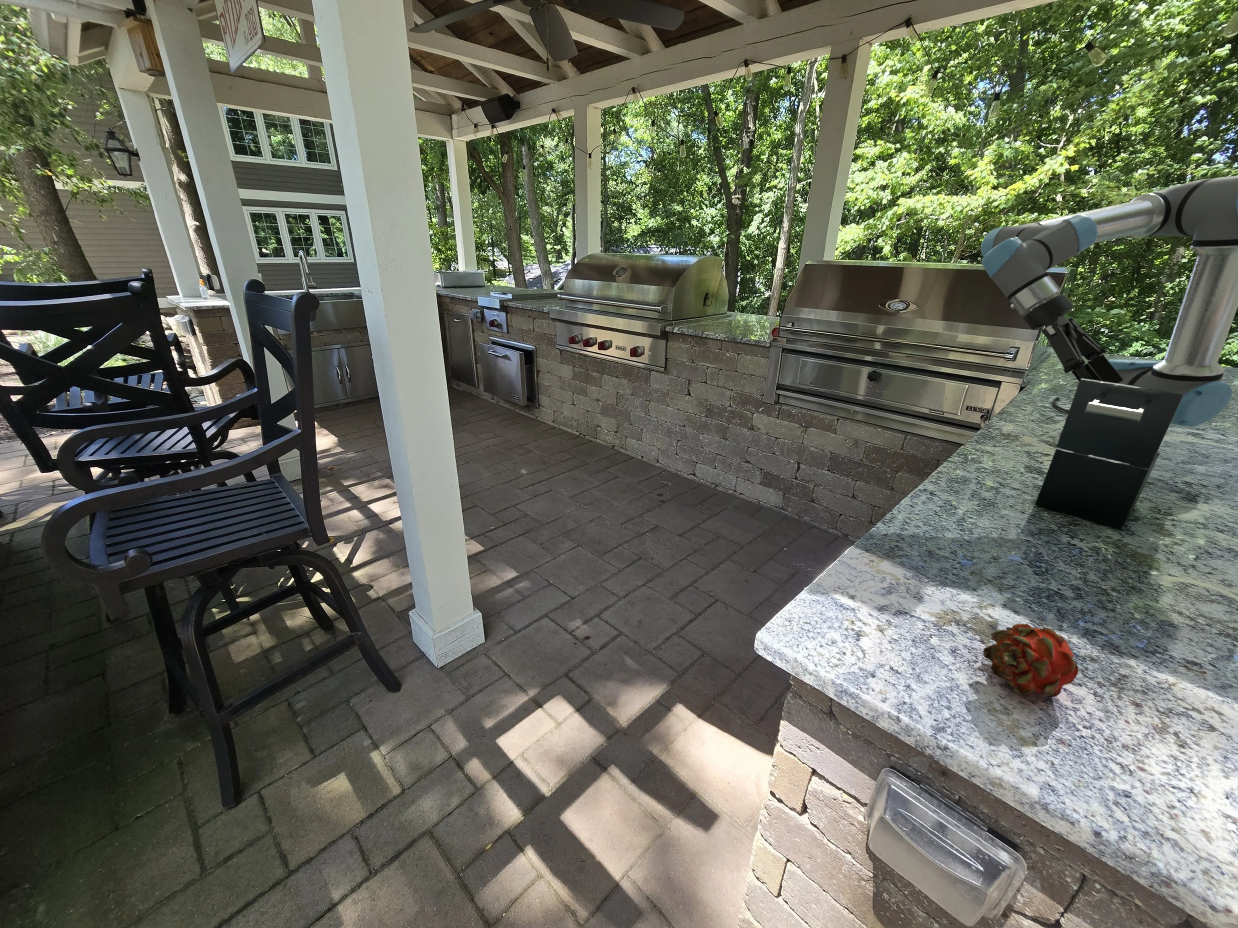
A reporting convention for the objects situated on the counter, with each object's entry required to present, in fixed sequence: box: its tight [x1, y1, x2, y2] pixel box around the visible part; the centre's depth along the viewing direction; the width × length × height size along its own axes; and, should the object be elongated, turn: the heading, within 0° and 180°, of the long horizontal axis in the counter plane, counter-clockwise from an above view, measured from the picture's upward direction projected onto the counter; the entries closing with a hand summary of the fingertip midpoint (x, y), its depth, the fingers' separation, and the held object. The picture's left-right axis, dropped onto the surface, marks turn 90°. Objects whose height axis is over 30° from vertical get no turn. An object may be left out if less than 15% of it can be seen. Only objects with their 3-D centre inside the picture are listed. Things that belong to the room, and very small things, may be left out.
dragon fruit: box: [983, 623, 1079, 698], centre depth 62 cm, size 8×8×12 cm
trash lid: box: [1056, 378, 1184, 469], centre depth 90 cm, size 14×14×9 cm
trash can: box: [1034, 447, 1160, 531], centre depth 103 cm, size 14×14×13 cm
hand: (1109, 389), depth 100 cm, fingers open, 13 cm apart
